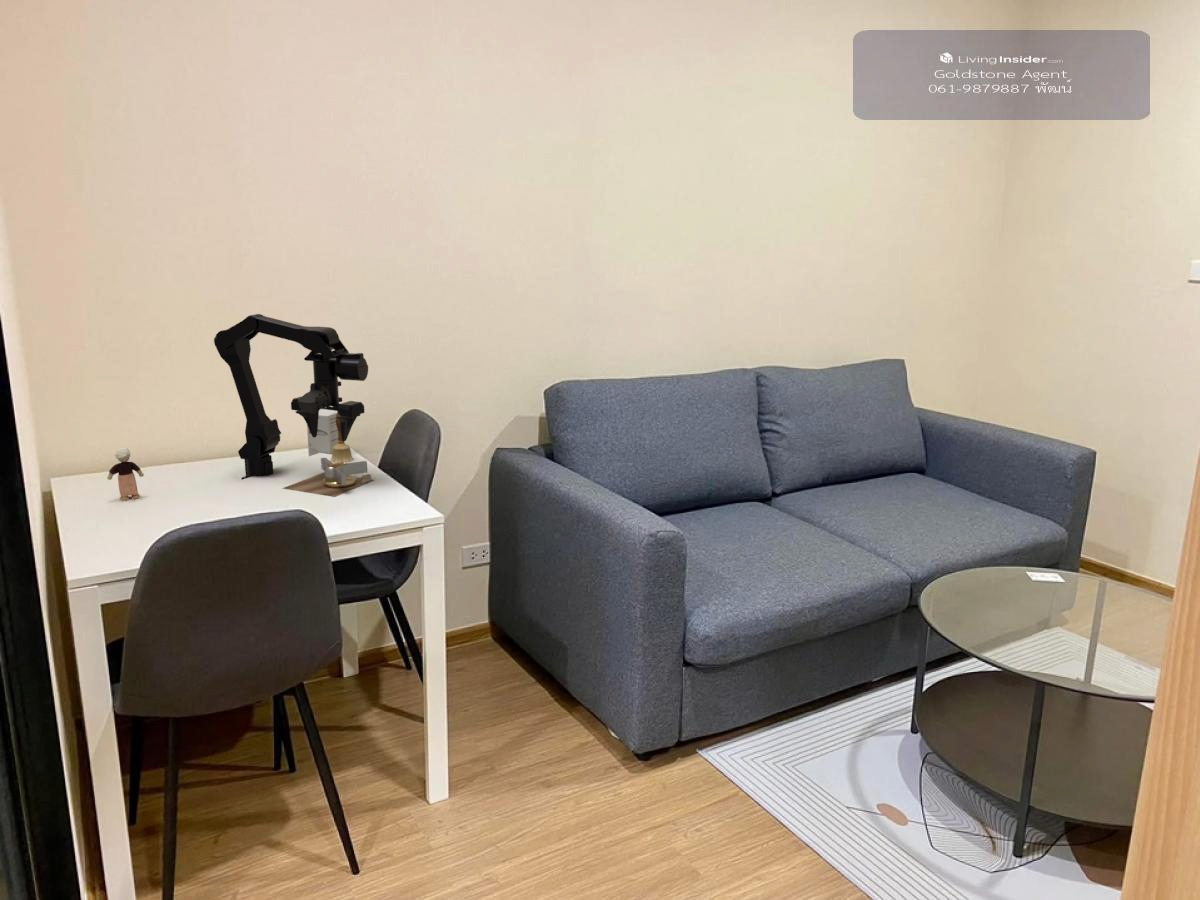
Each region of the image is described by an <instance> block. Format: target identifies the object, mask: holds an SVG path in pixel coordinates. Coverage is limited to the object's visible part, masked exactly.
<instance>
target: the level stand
mask: <svg viewBox="0 0 1200 900" xmlns="http://www.w3.org/2000/svg"><path fill="white" fill-rule="evenodd" d="M371 474H372V473H371ZM371 474H370V473H368V474H365V475H362V476H360V477H357V476H355V477H356V484H354V485H351V486H347V487H327V486H325V485H324V483H323V479H324V478H325V475H324V472H321V473H318V474H316V475H314V476H310V477H308V478H306V479H302V480H300V481H298V482H295V483H292V484H290V485H288V486H284V487H282V490H283V489H284V490H290V491H296V492H301V493H302V492H303V493H310V494H313V495H320V496H326V497H333V498H336V497H338V496H341V495H343V494H346V493H348V492H350V491H352V490H355V489H357V488H360V487H361V486H364V485H367V484H370V483H371V482H374V481H375V479H372V475H371Z"/></svg>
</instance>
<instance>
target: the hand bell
mask: <svg viewBox="0 0 1200 900" xmlns="http://www.w3.org/2000/svg"><path fill="white" fill-rule="evenodd" d="M338 416H340V415H339V414H338V412H337V414H336V426H337V429H338V444H337V445H336V446H334V447H333V454H332V455H331V459H330V460H329V461H331V462H332V463H342V462H343V463H344V464H345V463H353V462H354V461H355V458H354V457H353V455H352V452H351V447H350V445H348V444H346V443H345V441H344V442H343V441H342V437H341V423H340V421H339V419H338V418H337V417H338Z"/></svg>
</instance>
